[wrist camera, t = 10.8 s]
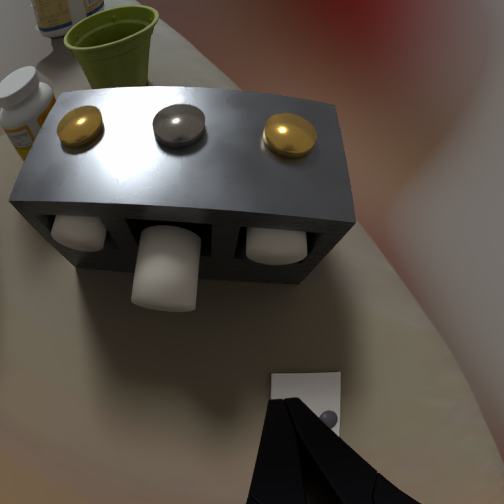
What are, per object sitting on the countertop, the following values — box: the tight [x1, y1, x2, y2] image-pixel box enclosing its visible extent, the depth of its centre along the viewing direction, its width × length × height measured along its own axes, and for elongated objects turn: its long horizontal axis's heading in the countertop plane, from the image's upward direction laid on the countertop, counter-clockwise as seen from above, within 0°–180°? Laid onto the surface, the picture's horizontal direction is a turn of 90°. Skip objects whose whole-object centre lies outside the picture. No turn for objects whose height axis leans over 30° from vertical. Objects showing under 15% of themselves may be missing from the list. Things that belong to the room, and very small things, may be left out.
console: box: [9, 87, 356, 284], centre depth 19 cm, size 8×17×11 cm, turn 88°
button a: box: [246, 227, 307, 265], centre depth 17 cm, size 4×3×3 cm
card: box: [270, 372, 341, 436], centre depth 19 cm, size 7×5×1 cm
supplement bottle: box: [0, 66, 56, 162], centre depth 20 cm, size 5×5×10 cm
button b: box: [131, 225, 201, 312], centre depth 15 cm, size 4×3×3 cm
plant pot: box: [64, 5, 159, 89], centre depth 25 cm, size 9×9×9 cm
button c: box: [51, 215, 107, 252], centre depth 16 cm, size 4×3×3 cm
